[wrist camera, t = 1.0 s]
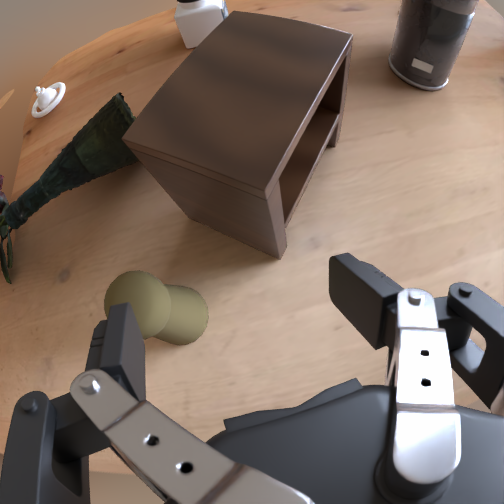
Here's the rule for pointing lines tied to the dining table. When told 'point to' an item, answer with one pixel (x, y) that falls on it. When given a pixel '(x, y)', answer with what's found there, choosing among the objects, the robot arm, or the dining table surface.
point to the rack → (246, 124)
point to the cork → (160, 307)
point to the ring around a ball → (47, 99)
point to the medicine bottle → (199, 19)
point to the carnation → (72, 168)
